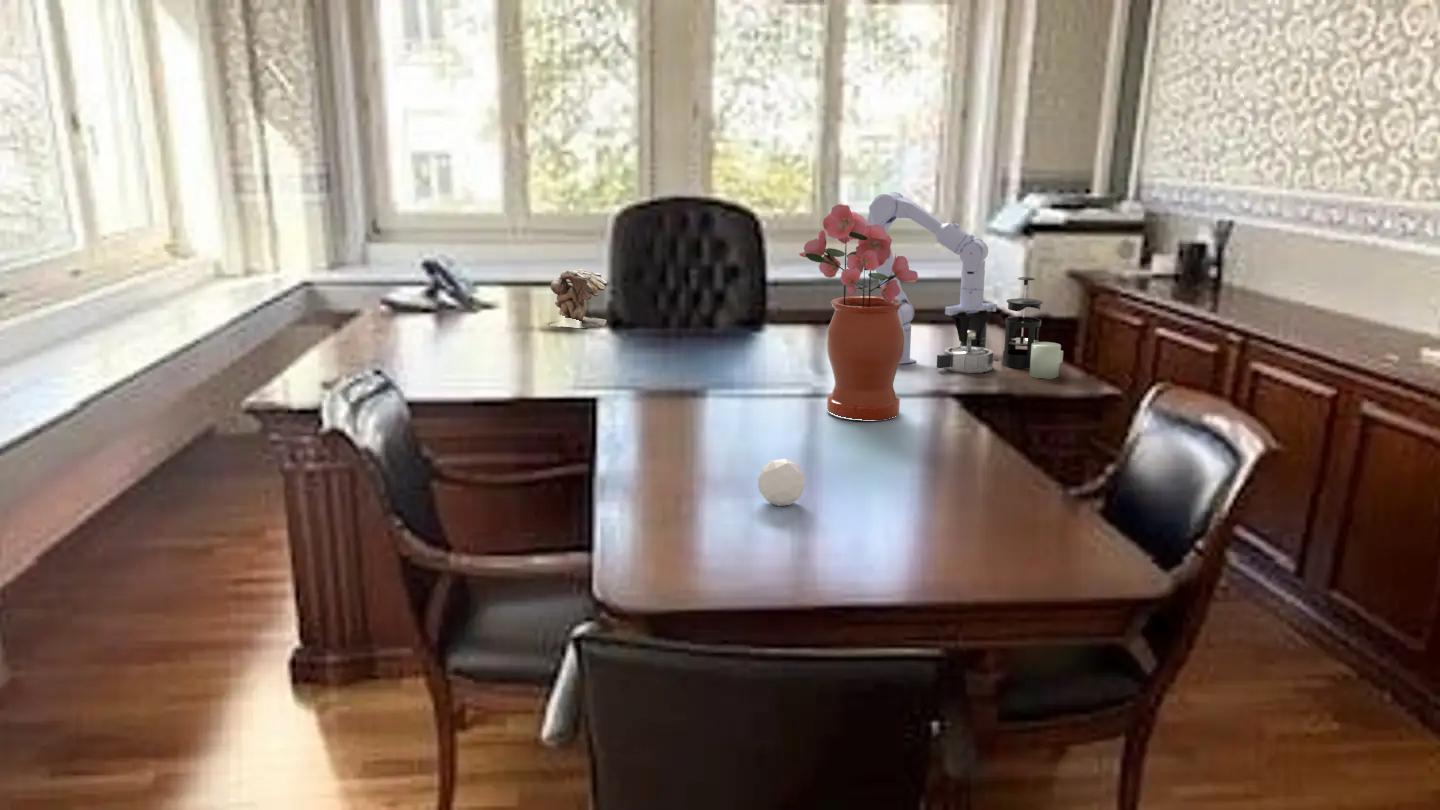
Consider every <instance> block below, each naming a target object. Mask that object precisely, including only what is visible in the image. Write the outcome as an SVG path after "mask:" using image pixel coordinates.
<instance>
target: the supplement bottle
mask: <svg viewBox="0 0 1440 810" xmlns="http://www.w3.org/2000/svg"><path fill="white" fill-rule="evenodd" d="M966 315H967V316H969V317H971V314H970V313H966ZM968 330H972V320H971V319H970V322H969V326H968ZM987 330H988V321H987V322H986V324H985V326H984V328H983V330H982V333H981V336H980V339H979V341H975V340H971V346H974V347H983V348H987ZM959 343H960V345H959V346H967V341H966V342H961V341H960V342H959Z"/></svg>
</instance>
